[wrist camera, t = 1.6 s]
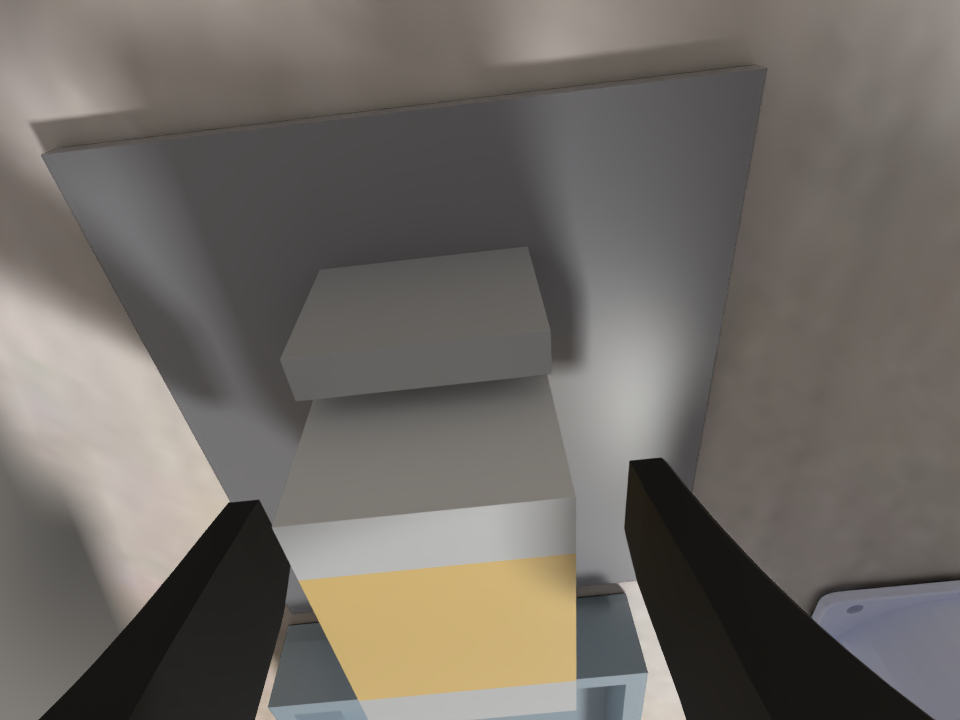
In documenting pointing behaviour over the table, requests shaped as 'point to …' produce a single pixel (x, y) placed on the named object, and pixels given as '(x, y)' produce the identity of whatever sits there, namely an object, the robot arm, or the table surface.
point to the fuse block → (438, 269)
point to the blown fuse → (439, 548)
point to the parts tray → (598, 716)
